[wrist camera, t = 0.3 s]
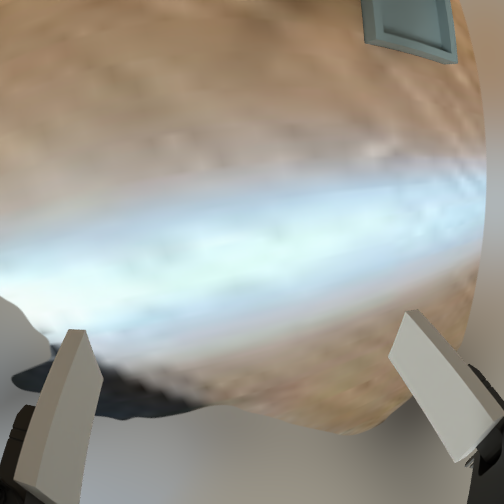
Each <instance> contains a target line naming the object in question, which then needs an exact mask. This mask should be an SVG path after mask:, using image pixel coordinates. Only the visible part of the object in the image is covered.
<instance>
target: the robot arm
mask: <svg viewBox="0 0 504 504" xmlns="http://www.w3.org/2000/svg"><path fill="white" fill-rule="evenodd" d="M388 358H389V359H390V361H391V362H392V364H393V365H394V367H395V368H396V370H397V371H398V373H399V374H400V376H401V377H402V379H403V380H404V382H405V383H406V385H407V387H408V388H409V390H410V391H411V393H412V394H413V396H414V397H415V399H416V400H417V402H418V404H419V405H420V407H421V408H422V410H423V412H424V413H425V415H426V416H427V418H428V420H429V421H430V423H431V424H432V426H433V428H434V429H435V431H436V432H437V434H438V436H439V437H440V439H441V441H442V442H443V444H444V446H445V447H446V449H447V451H448V453H449V454H450V456H451V458H452V459H453V461H454V463H456V462H457V461H459V460H461V459H463V458H464V457H466V456H468V455H469V454H470V453H471V452H472V451H473V450H474V449H475V448H477V450H478V451H477V452H476V453H475V454H474V455H473V456H472V457H471V458H470V459H469V460H468V461H467V462H466V464H465V467H467V466H469V465H470V464H471V463H472V462H473V461H474V463H473V464H472V465H471V466H470V468H473V472H472V478H471V485H470V491H469V496H468V501H467V504H504V401H503V400H502V399H501V397H500V396H499V395H498V393H497V392H496V391H495V390H494V388H493V387H491V385H490V383H489V382H488V381H486V378H485V377H484V376H483V375H482V374H481V372H480V371H479V370H477V369H476V368H475V367H473V366H472V365H470V364H468V365H467V364H466V363H465V361H464V360H463V359H462V358H461V357H460V356H459V355H458V353H457V352H456V351H455V350H454V349H453V347H452V346H451V345H450V344H449V343H448V342H447V341H446V339H445V338H444V337H443V336H442V335H441V334H440V333H439V332H438V330H437V329H436V328H435V327H434V326H433V325H432V324H431V323H430V322H429V321H428V319H427V318H426V317H425V316H424V315H423V314H422V313H421V312H420V311H419V310H418V309H417V310H411V311H405V314H404V317H403V320H402V323H401V325H400V328H399V331H398V333H397V336H396V339H395V341H394V344H393V346H392V349H391V351H390V354H389V356H388ZM102 382H103V377H102V374H101V372H100V369H99V366H98V364H97V361H96V359H95V356H94V353H93V350H92V347H91V345H90V342H89V339H88V336H87V333H86V330H74V329H69V330H68V332H67V334H66V336H65V338H64V340H63V342H62V344H61V347H60V349H59V351H58V353H57V355H56V358H55V360H54V362H53V365H52V367H51V369H50V372H49V374H48V376H47V379H46V381H45V384H44V386H43V389H42V391H41V394H40V396H39V399H38V402H37V405H36V406H31V405H25V406H24V407H23V408H22V409H21V410H20V412H19V413H18V414H17V416H16V419H15V421H14V424H13V429H12V430H11V432H10V435H9V437H10V438H9V439H8V441H7V444H6V447H5V450H4V453H3V457H2V460H1V463H0V504H79V502H80V494H81V486H82V479H83V473H84V467H85V460H86V454H87V449H88V444H89V439H90V434H91V429H92V424H93V420H94V415H95V411H96V406H97V402H98V398H99V394H100V390H101V386H102Z"/></svg>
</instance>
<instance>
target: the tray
mask: <svg viewBox="0 0 504 504" xmlns="http://www.w3.org/2000/svg"><path fill="white" fill-rule="evenodd" d="M361 8H362V17H363V28H364V41H365V43H366V44H371V45H376V46H380V47H385V48H389V49H394V50H398V51H402V52H405V53H409V54H413V55H416V56H420V57H423V58H426V59H430V60H433V61H436V62H439V63H442V64H458V59H457V48H456V38H455V30H454V22H453V16H452V9H451V4H450V0H361Z"/></svg>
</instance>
